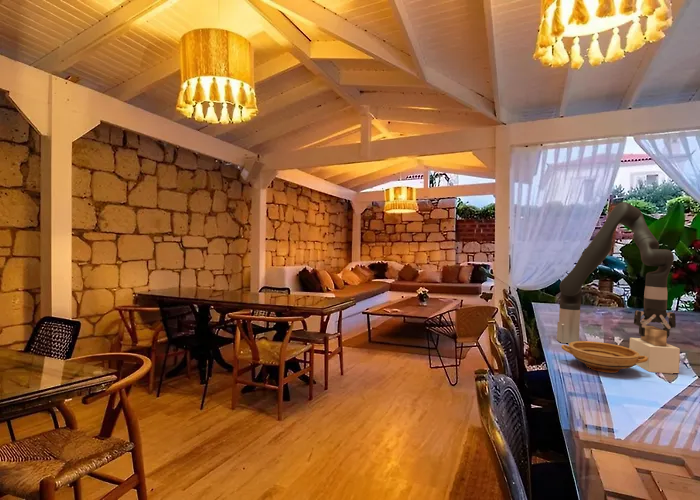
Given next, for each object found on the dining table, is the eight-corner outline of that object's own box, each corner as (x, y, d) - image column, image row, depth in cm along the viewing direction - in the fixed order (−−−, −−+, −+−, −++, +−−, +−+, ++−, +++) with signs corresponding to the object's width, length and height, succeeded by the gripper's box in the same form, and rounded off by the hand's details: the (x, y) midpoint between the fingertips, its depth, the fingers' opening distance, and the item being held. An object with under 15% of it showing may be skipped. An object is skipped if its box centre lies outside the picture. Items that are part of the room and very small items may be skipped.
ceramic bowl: (643, 367, 162) (644, 347, 162) (652, 384, 142) (653, 362, 141) (562, 354, 178) (562, 337, 177) (559, 369, 157) (559, 349, 156)
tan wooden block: (654, 352, 158) (655, 330, 158) (640, 346, 168) (641, 325, 168) (665, 353, 157) (666, 331, 157) (651, 347, 167) (652, 326, 167)
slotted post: (648, 371, 156) (649, 346, 156) (628, 360, 171) (629, 337, 171) (678, 373, 154) (679, 348, 154) (655, 362, 169) (656, 339, 169)
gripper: (641, 298, 160) (639, 337, 160) (681, 299, 157) (679, 340, 158) (631, 295, 167) (629, 333, 167) (669, 297, 165) (667, 335, 165)
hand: (653, 336), depth 162 cm, fingers open, 8 cm apart
